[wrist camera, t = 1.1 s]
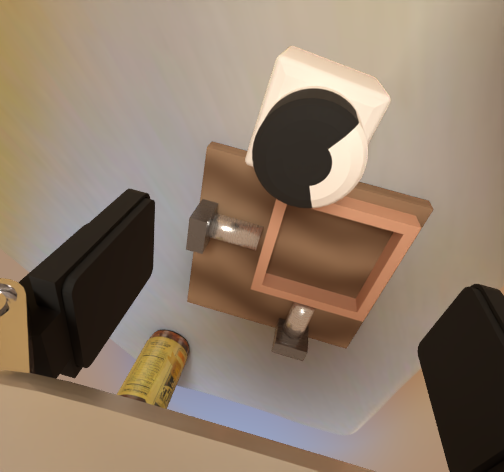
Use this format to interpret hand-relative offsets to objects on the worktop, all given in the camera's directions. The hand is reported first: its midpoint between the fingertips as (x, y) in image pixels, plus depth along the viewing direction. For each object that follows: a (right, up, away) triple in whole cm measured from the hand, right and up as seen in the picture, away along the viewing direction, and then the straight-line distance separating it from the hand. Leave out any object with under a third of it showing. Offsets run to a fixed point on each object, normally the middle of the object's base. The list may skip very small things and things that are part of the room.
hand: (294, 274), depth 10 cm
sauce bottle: (-13, -14, +38) cm, 43 cm away
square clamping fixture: (+3, -1, +25) cm, 25 cm away
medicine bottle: (+4, +12, +17) cm, 21 cm away
